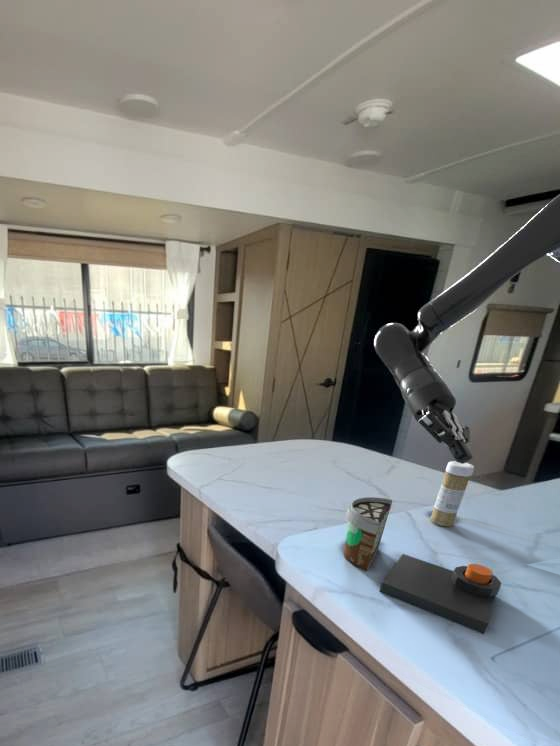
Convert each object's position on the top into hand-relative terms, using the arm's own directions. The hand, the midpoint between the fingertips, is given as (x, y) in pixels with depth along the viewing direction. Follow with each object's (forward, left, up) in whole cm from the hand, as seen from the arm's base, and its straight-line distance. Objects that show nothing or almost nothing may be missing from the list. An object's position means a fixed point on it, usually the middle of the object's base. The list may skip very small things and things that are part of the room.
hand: (465, 460), depth 75 cm
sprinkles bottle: (+1, -8, -17) cm, 19 cm away
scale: (-4, +22, -16) cm, 27 cm away
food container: (+10, +19, -17) cm, 27 cm away
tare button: (-8, +18, -13) cm, 24 cm away
